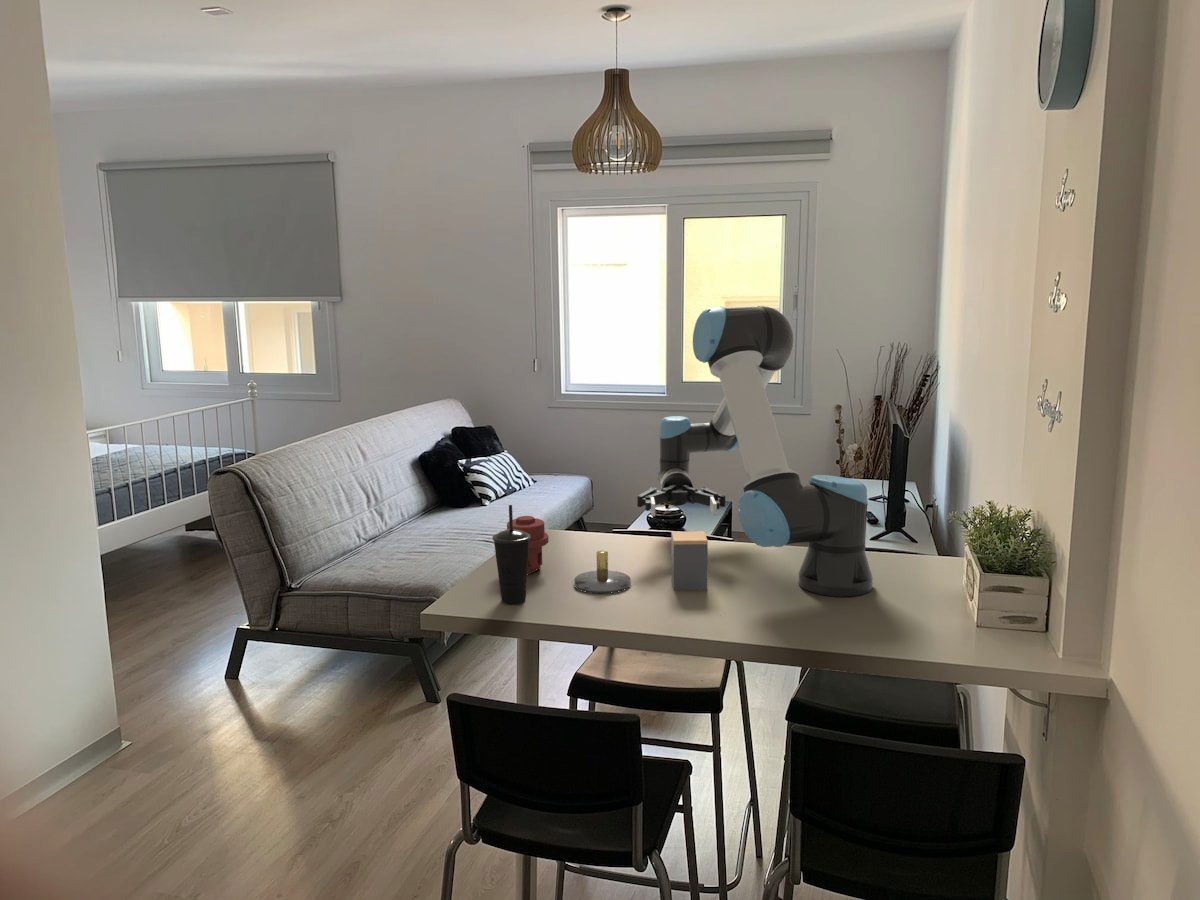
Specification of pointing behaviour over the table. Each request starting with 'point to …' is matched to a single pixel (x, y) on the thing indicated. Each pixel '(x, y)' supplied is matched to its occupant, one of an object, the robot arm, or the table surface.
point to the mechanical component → (532, 539)
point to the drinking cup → (512, 562)
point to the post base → (602, 585)
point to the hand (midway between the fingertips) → (684, 510)
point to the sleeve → (689, 560)
